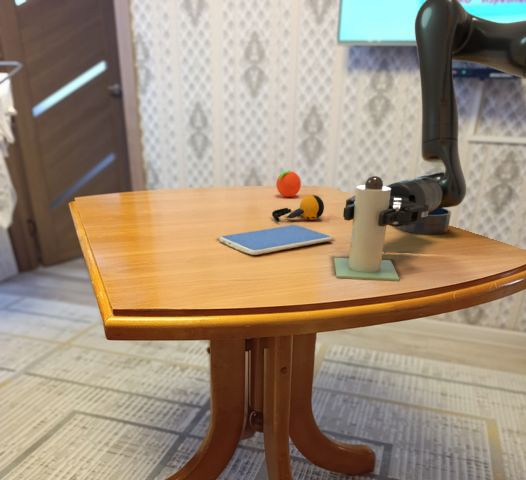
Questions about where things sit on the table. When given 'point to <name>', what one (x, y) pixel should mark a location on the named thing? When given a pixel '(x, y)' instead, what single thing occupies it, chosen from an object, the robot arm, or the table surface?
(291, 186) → the clementine
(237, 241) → the tablet
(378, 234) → the pepper mill
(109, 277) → the table surface
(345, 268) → the napkin
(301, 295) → the table surface
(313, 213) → the character figurine
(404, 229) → the bowl
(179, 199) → the table surface
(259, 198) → the table surface
